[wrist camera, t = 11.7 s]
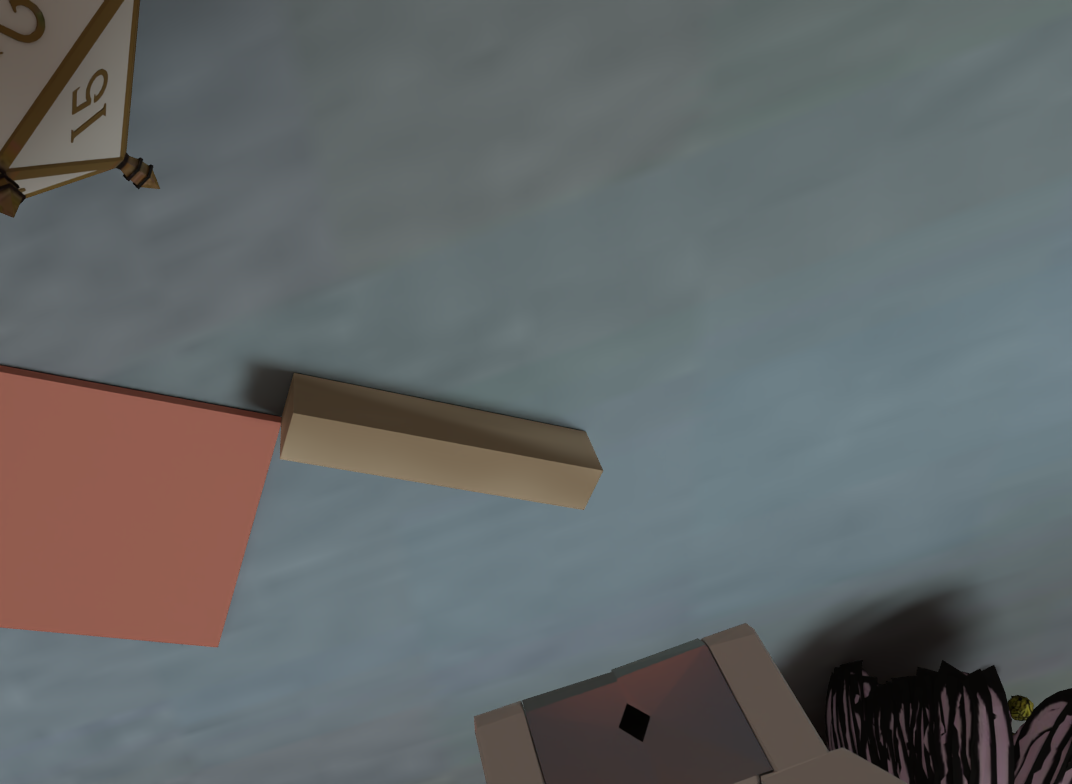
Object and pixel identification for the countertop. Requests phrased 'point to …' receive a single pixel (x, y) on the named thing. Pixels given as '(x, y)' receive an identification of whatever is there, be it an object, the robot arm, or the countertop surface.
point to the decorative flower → (949, 727)
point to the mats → (124, 508)
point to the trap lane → (435, 443)
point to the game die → (65, 94)
